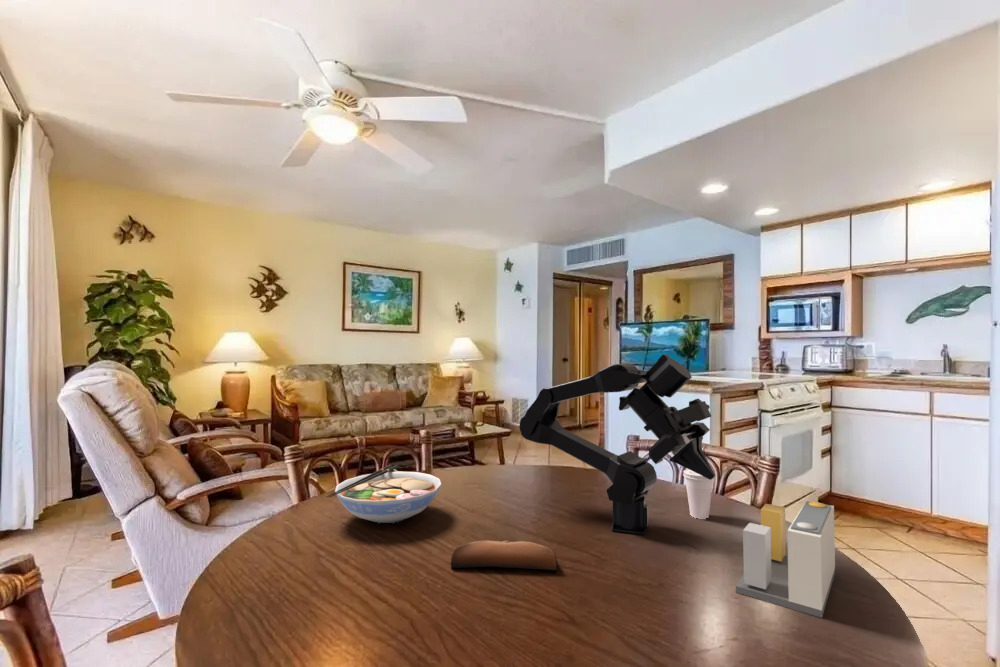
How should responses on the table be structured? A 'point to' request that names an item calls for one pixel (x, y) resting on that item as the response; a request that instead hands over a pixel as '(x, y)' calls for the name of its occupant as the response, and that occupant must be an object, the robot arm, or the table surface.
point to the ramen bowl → (388, 494)
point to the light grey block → (757, 555)
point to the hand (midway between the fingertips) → (713, 477)
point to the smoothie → (698, 493)
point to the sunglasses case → (504, 555)
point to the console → (802, 564)
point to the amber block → (775, 529)
